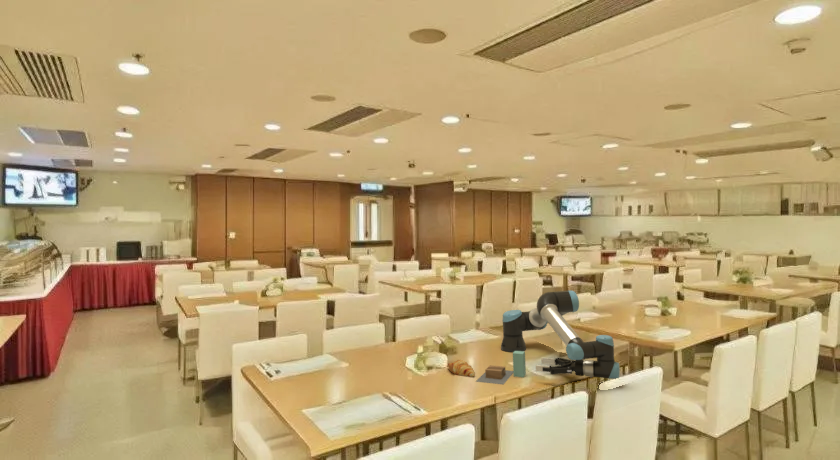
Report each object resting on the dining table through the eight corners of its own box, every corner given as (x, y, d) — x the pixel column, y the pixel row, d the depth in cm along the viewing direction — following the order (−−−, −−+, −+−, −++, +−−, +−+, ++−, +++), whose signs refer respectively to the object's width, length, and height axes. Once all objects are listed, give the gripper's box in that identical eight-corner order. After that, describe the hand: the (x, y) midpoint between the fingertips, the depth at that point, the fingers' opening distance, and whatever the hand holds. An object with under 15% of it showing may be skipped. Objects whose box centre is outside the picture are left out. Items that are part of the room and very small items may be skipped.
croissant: (478, 383, 234) (484, 368, 236) (465, 378, 229) (470, 362, 231) (452, 373, 252) (457, 359, 254) (439, 368, 246) (444, 353, 248)
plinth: (490, 373, 238) (490, 365, 238) (505, 374, 235) (505, 366, 235) (485, 377, 231) (485, 369, 231) (501, 379, 228) (500, 371, 228)
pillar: (516, 374, 236) (515, 350, 236) (525, 375, 234) (524, 351, 234) (513, 377, 231) (512, 353, 231) (523, 378, 229) (522, 354, 229)
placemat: (488, 369, 246) (488, 368, 246) (514, 371, 240) (514, 371, 240) (475, 382, 226) (475, 381, 226) (503, 385, 220) (503, 384, 220)
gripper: (581, 384, 208) (533, 379, 217) (587, 368, 230) (544, 364, 239) (580, 367, 208) (533, 363, 217) (586, 353, 230) (543, 350, 240)
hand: (538, 364), depth 228 cm, fingers open, 13 cm apart
